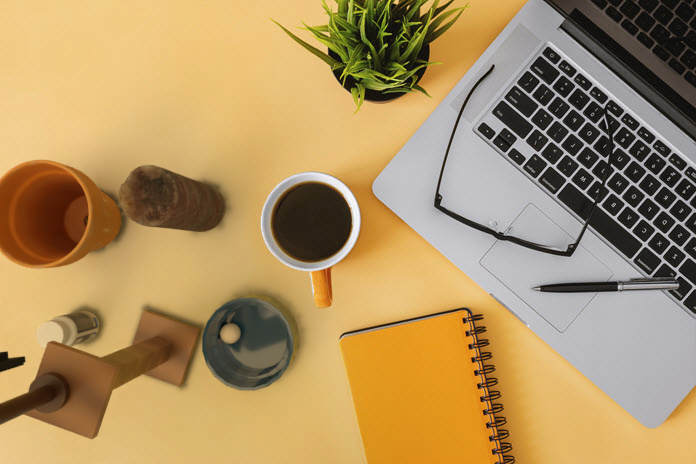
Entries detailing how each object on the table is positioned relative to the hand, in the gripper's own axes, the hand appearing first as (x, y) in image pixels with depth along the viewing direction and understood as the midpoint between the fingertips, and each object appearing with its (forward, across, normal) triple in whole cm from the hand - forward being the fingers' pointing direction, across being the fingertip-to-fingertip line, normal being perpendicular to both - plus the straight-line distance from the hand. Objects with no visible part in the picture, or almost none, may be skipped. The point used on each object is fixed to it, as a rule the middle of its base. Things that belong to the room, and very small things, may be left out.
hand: (14, 416), depth 43 cm
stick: (+8, 0, -2) cm, 8 cm away
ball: (+29, -1, +11) cm, 31 cm away
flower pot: (+31, -21, -9) cm, 39 cm away
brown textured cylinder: (+31, -20, +8) cm, 38 cm away
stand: (+31, 0, 0) cm, 31 cm away
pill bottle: (+31, -5, -12) cm, 34 cm away
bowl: (+31, 0, +14) cm, 34 cm away
